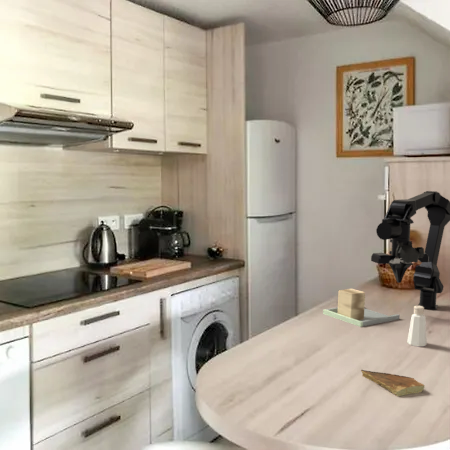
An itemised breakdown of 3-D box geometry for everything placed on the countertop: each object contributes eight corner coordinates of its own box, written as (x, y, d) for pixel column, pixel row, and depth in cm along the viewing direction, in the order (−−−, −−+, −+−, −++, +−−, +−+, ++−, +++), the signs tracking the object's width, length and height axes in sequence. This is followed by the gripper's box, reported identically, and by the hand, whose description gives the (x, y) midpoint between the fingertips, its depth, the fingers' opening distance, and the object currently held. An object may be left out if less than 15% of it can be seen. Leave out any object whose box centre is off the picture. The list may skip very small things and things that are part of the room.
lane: (360, 310, 190) (361, 303, 190) (399, 322, 176) (399, 314, 176) (322, 317, 181) (323, 309, 180) (360, 330, 166) (360, 322, 166)
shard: (360, 376, 130) (360, 368, 130) (391, 372, 134) (392, 364, 133) (395, 398, 118) (395, 389, 118) (428, 393, 121) (429, 384, 121)
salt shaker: (428, 347, 151) (430, 309, 150) (408, 345, 153) (410, 308, 151) (425, 341, 157) (427, 304, 156) (405, 340, 158) (407, 303, 157)
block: (350, 314, 180) (351, 288, 179) (363, 319, 175) (365, 292, 174) (337, 317, 177) (338, 290, 176) (350, 321, 172) (351, 294, 171)
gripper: (387, 241, 171) (385, 289, 173) (439, 240, 175) (437, 286, 177) (371, 236, 182) (369, 281, 184) (420, 235, 186) (418, 279, 188)
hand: (398, 282), depth 183 cm, fingers closed
